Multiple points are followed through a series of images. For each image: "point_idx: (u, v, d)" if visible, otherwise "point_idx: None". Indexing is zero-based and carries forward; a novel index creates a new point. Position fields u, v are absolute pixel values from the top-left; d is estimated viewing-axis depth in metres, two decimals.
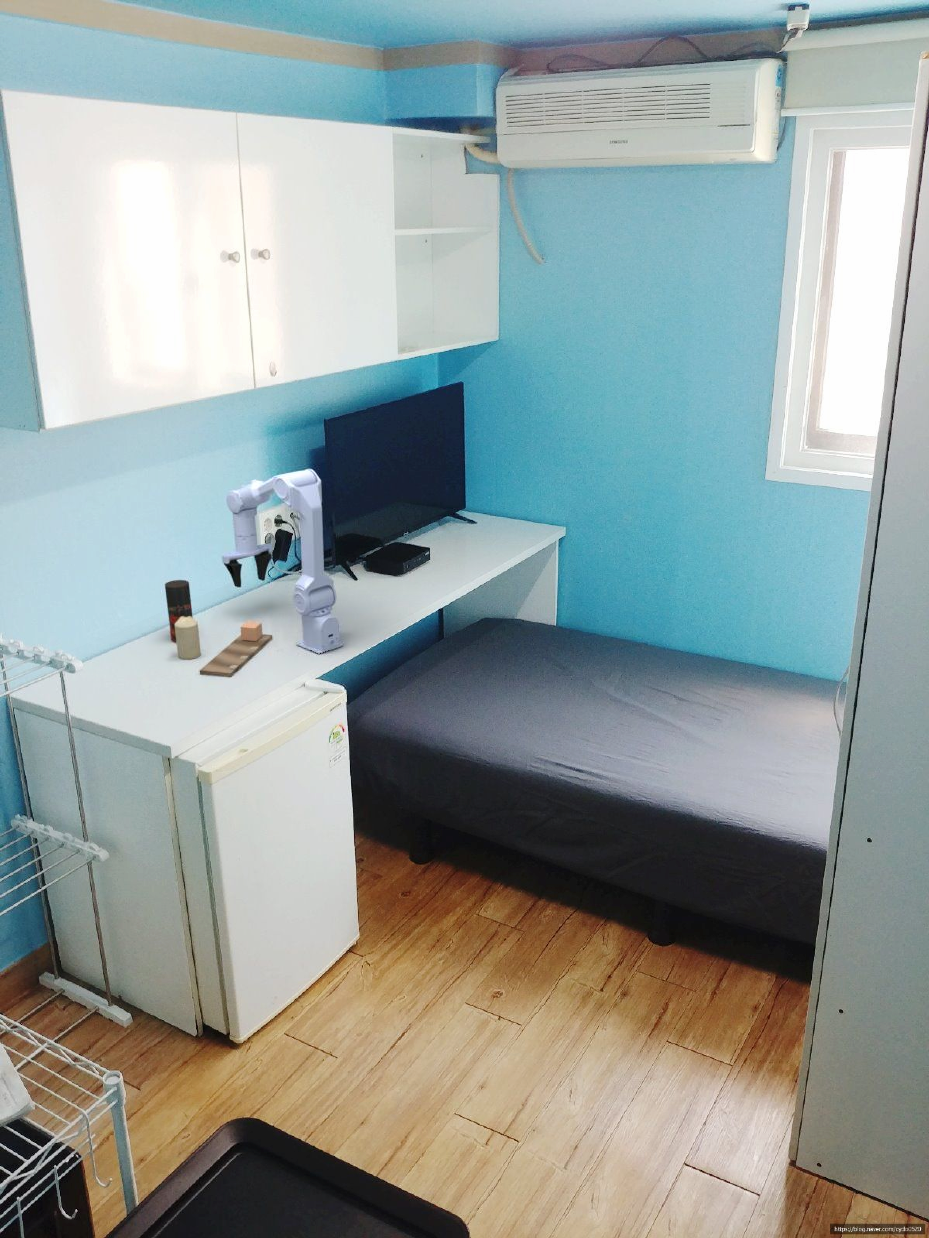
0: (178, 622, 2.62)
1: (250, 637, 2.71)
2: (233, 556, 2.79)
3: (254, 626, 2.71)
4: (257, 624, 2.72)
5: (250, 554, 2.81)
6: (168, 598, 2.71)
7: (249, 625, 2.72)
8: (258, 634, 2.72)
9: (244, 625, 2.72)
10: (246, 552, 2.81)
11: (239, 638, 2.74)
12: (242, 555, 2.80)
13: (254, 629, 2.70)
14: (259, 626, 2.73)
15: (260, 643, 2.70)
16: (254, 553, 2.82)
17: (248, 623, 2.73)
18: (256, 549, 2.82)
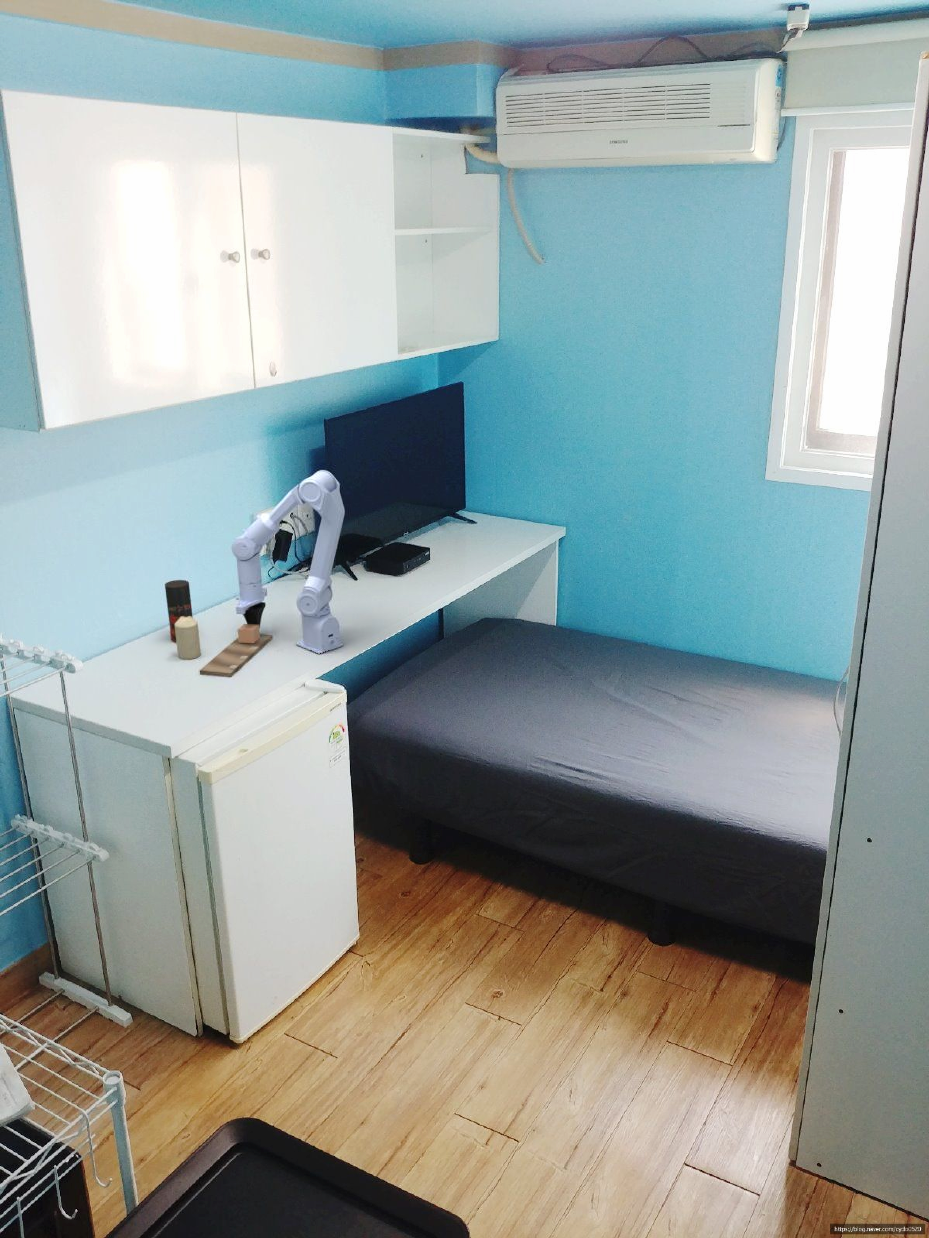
0: (178, 622, 2.62)
1: (247, 639, 2.70)
2: (248, 605, 2.66)
3: (251, 628, 2.70)
4: (254, 626, 2.71)
5: (260, 600, 2.70)
6: (168, 598, 2.71)
7: (246, 627, 2.71)
8: (256, 636, 2.71)
9: (241, 627, 2.70)
10: (257, 599, 2.69)
11: None
12: (254, 603, 2.68)
13: (251, 631, 2.69)
14: (256, 628, 2.71)
15: (260, 643, 2.70)
16: (263, 599, 2.71)
17: (245, 625, 2.72)
18: (262, 594, 2.72)
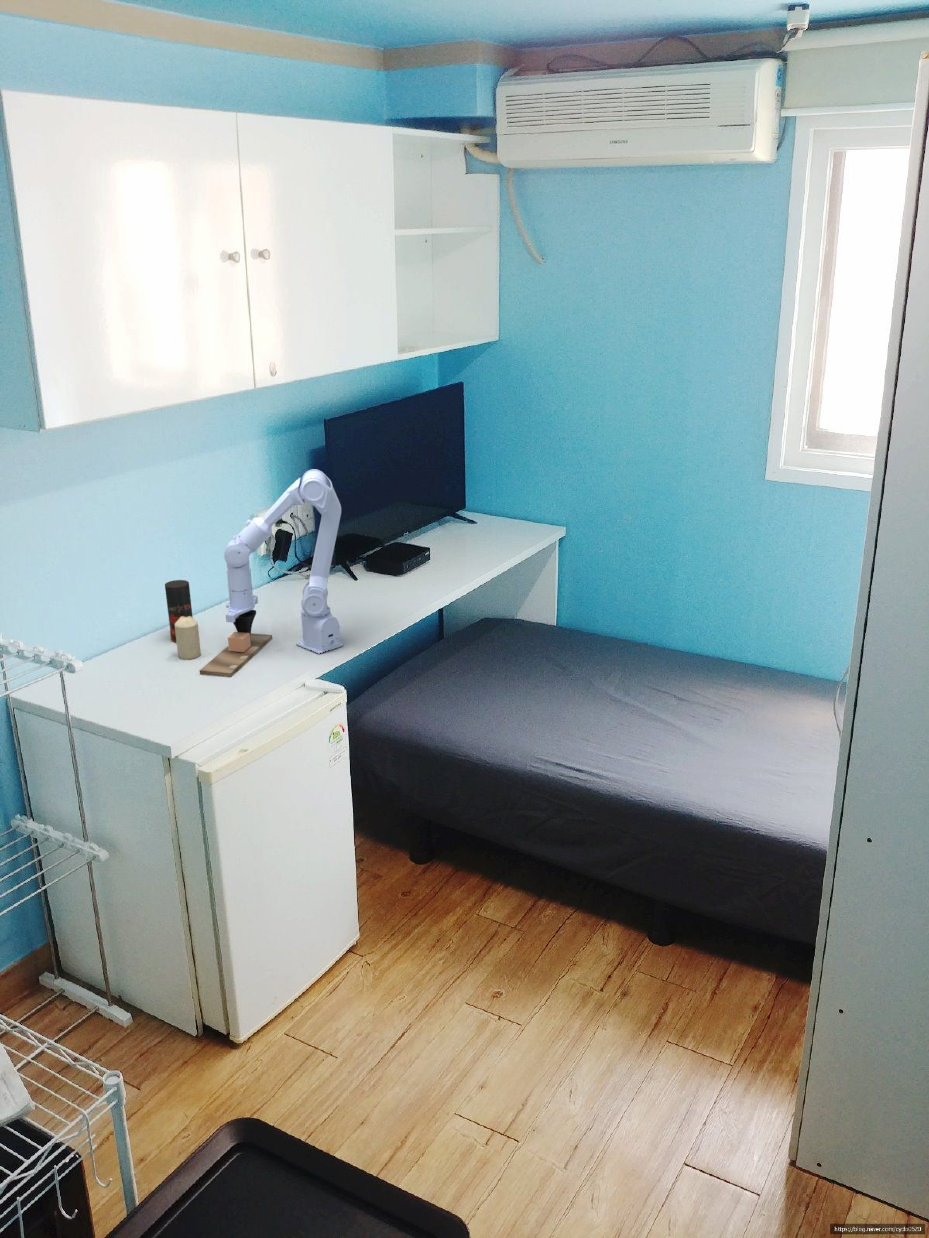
0: (178, 622, 2.62)
1: (237, 648, 2.64)
2: (238, 613, 2.61)
3: (242, 637, 2.64)
4: (244, 635, 2.65)
5: (251, 608, 2.65)
6: (168, 598, 2.71)
7: (237, 635, 2.65)
8: (246, 645, 2.66)
9: (232, 636, 2.65)
10: (247, 607, 2.64)
11: None
12: (245, 611, 2.63)
13: (242, 640, 2.63)
14: (247, 637, 2.66)
15: (260, 643, 2.70)
16: (253, 606, 2.66)
17: (236, 633, 2.66)
18: (253, 602, 2.67)
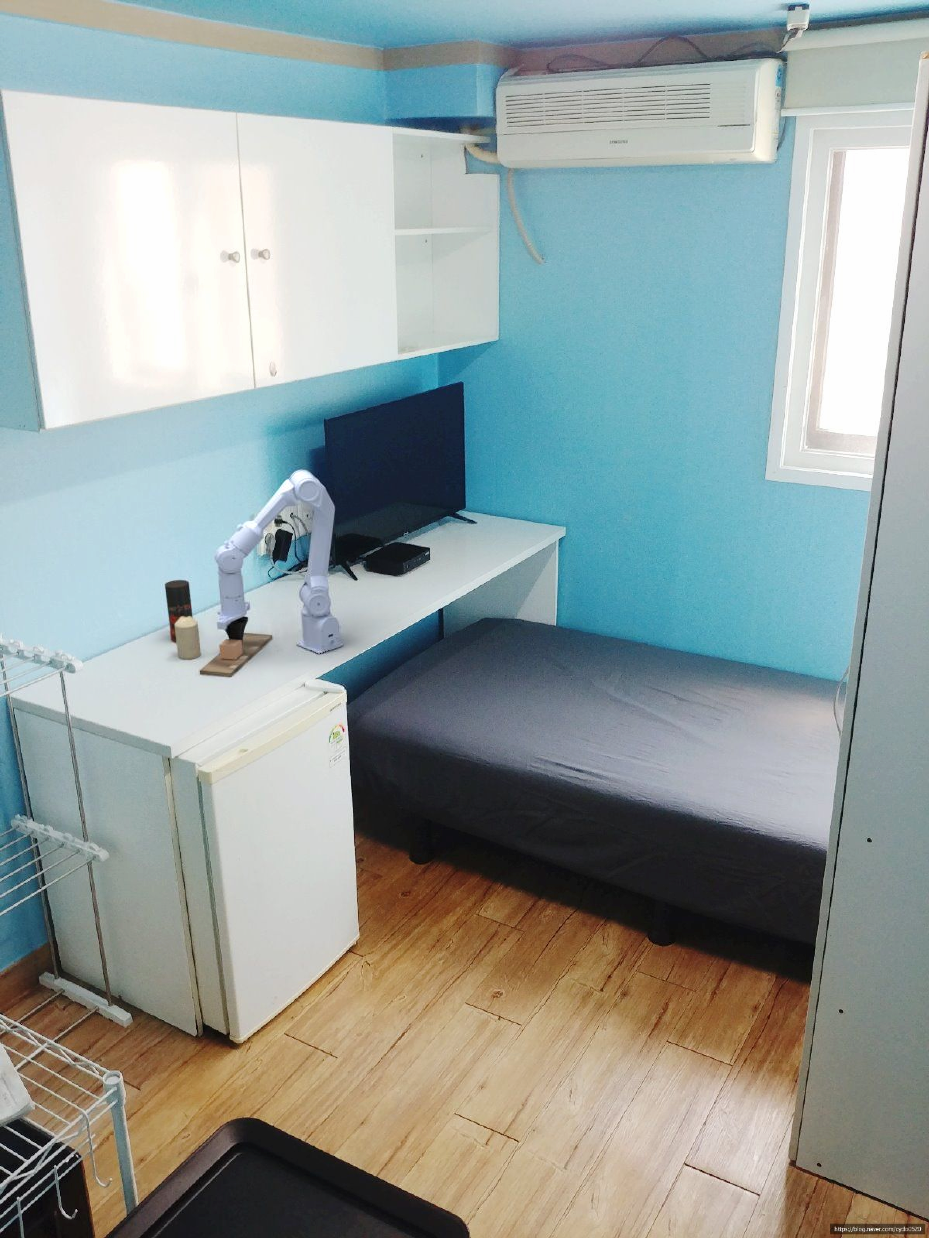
0: (178, 622, 2.62)
1: (229, 655, 2.60)
2: (229, 620, 2.57)
3: (233, 644, 2.60)
4: (236, 642, 2.61)
5: (243, 615, 2.60)
6: (168, 598, 2.71)
7: (228, 643, 2.61)
8: (238, 652, 2.61)
9: (223, 643, 2.61)
10: (239, 613, 2.59)
11: None
12: (236, 617, 2.59)
13: (233, 647, 2.59)
14: (239, 644, 2.61)
15: (260, 643, 2.70)
16: (245, 613, 2.61)
17: (227, 641, 2.62)
18: (245, 609, 2.62)
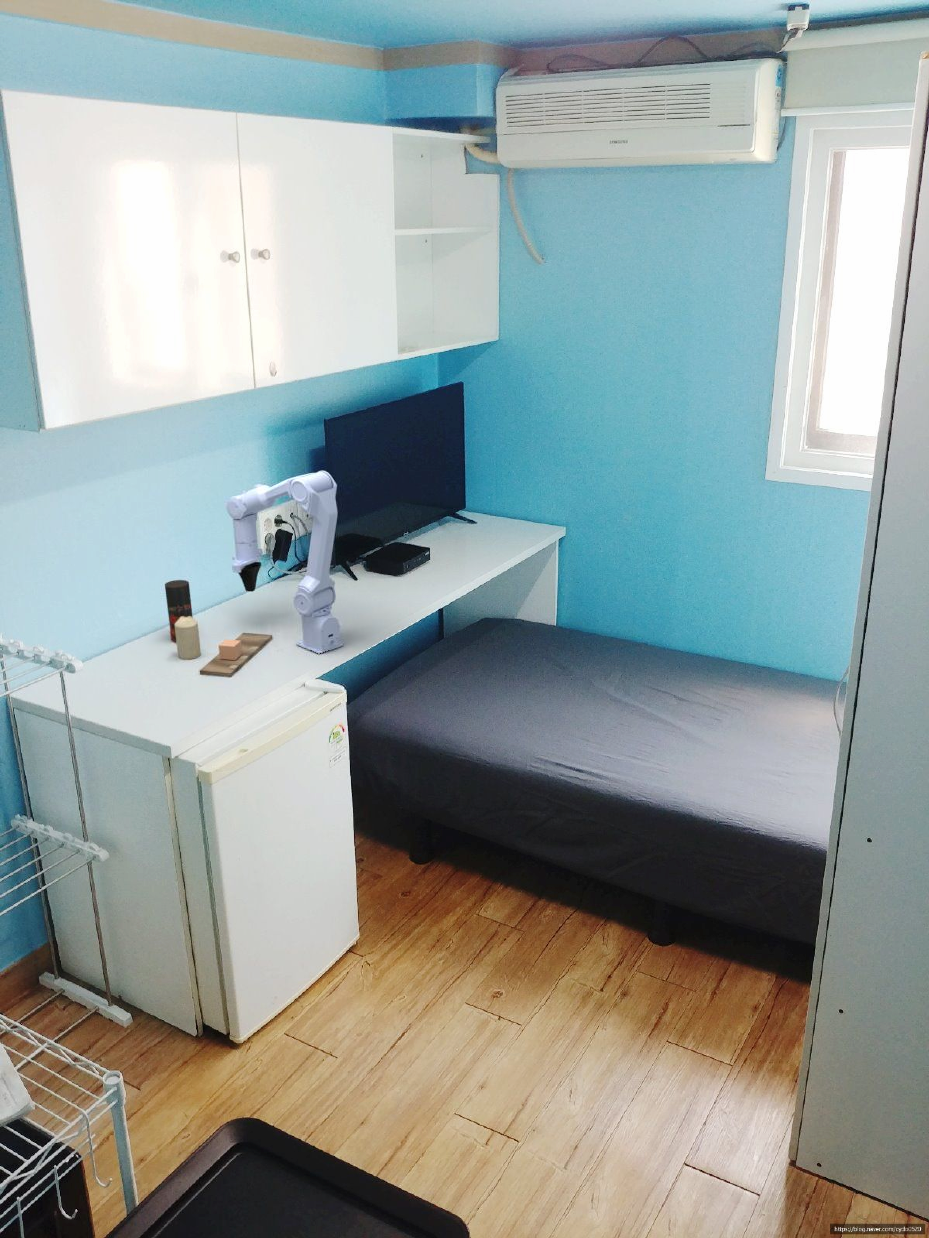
0: (178, 622, 2.62)
1: (228, 656, 2.60)
2: (244, 564, 2.72)
3: (233, 644, 2.60)
4: (236, 642, 2.61)
5: (256, 560, 2.75)
6: (168, 598, 2.71)
7: (228, 643, 2.61)
8: (238, 653, 2.61)
9: (223, 643, 2.60)
10: (253, 558, 2.74)
11: (239, 638, 2.74)
12: (250, 562, 2.74)
13: (233, 647, 2.59)
14: (238, 644, 2.61)
15: (260, 643, 2.70)
16: (258, 558, 2.76)
17: (227, 641, 2.62)
18: (258, 554, 2.77)
